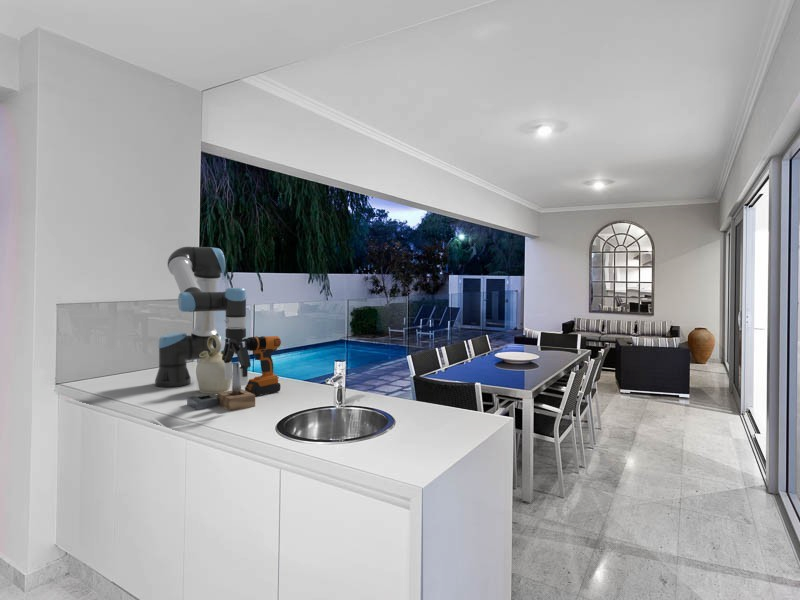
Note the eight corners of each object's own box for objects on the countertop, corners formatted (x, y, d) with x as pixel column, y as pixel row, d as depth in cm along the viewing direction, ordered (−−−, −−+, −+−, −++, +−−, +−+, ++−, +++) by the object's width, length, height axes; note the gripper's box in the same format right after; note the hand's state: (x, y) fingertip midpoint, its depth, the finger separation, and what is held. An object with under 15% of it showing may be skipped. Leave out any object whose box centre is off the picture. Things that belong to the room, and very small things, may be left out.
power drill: (240, 399, 200) (239, 339, 199) (230, 396, 205) (230, 337, 204) (284, 391, 216) (284, 335, 215) (274, 388, 221) (274, 333, 220)
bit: (230, 403, 190) (231, 362, 190) (238, 402, 193) (239, 362, 192) (233, 405, 188) (235, 363, 188) (241, 404, 190) (243, 363, 190)
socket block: (187, 405, 190) (187, 397, 190) (212, 401, 197) (212, 393, 197) (196, 411, 183) (196, 402, 183) (222, 406, 190) (222, 397, 190)
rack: (217, 405, 191) (217, 392, 191) (241, 401, 198) (241, 389, 198) (230, 412, 183) (230, 398, 182) (255, 407, 190) (255, 394, 189)
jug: (203, 397, 204) (203, 337, 203) (191, 390, 216) (190, 334, 215) (238, 391, 214) (238, 335, 213) (225, 385, 226) (224, 331, 225)
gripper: (213, 325, 195) (213, 377, 197) (241, 331, 177) (241, 389, 178) (231, 324, 201) (231, 375, 202) (260, 330, 182) (260, 386, 184)
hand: (235, 381), depth 190 cm, fingers open, 13 cm apart
